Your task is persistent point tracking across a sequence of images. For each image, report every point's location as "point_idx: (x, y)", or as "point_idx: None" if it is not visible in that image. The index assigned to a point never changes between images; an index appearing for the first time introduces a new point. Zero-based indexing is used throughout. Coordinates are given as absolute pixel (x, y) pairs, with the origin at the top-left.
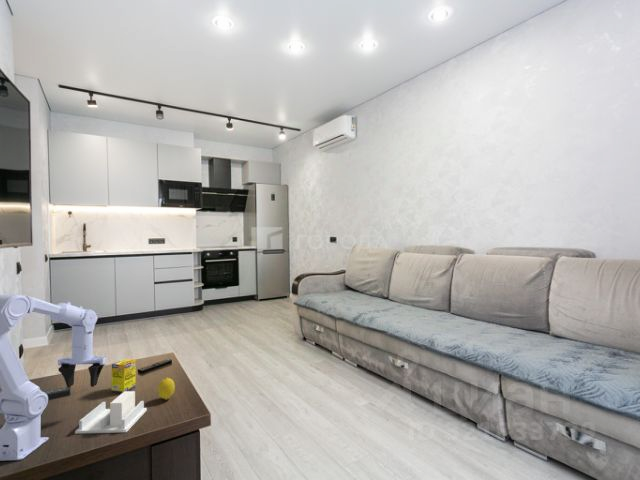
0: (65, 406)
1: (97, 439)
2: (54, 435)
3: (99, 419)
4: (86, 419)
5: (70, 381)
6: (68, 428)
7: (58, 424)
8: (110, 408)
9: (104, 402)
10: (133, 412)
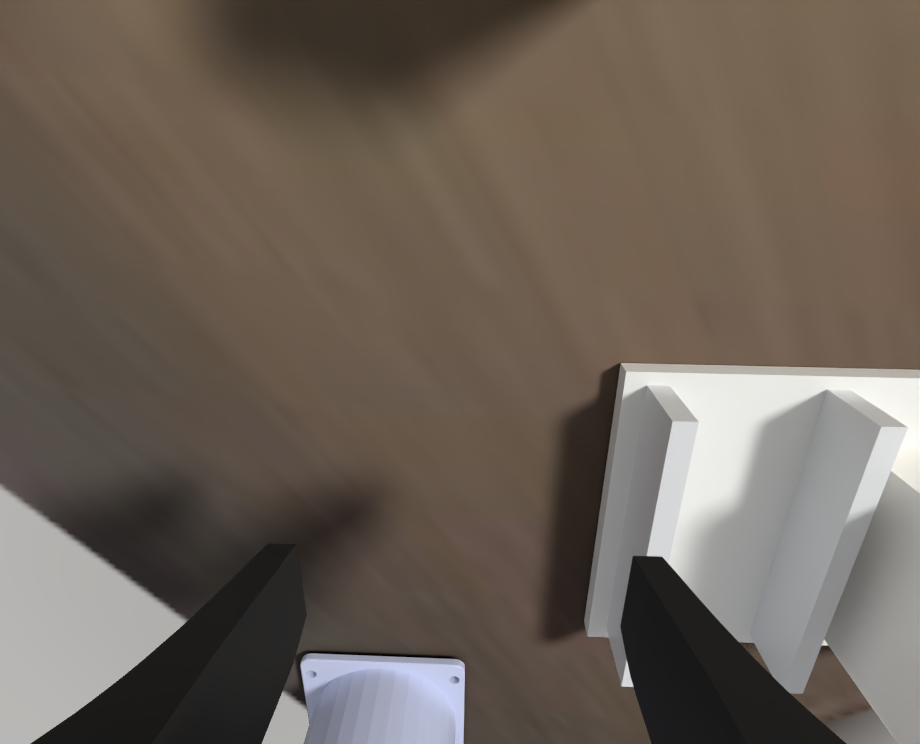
0: (206, 242)
1: None
2: (466, 625)
3: (688, 528)
4: None
5: (274, 660)
6: (501, 568)
7: (393, 520)
8: (895, 735)
9: (694, 439)
10: None
